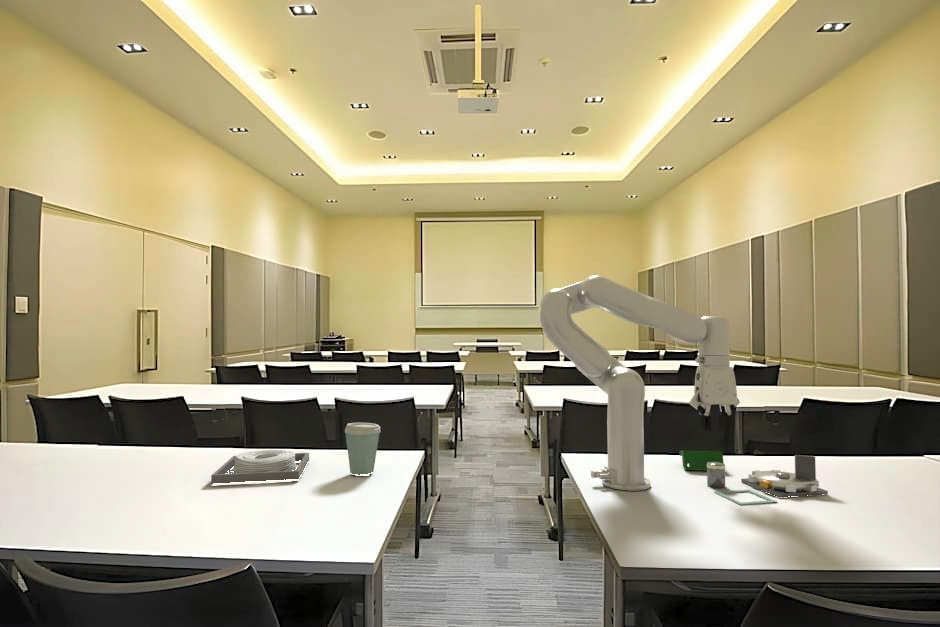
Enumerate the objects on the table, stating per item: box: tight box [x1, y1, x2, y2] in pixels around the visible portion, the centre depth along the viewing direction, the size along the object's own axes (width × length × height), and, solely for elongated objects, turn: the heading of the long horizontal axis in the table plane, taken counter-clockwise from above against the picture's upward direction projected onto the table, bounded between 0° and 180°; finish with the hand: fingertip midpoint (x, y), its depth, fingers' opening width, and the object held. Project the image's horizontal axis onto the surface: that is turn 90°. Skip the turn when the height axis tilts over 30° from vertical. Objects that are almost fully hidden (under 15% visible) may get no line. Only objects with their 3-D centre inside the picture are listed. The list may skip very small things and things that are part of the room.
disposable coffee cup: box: [344, 422, 381, 475], centre depth 158 cm, size 11×11×15 cm
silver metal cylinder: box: [706, 462, 726, 490], centre depth 144 cm, size 4×4×6 cm
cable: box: [226, 449, 297, 474], centre depth 160 cm, size 18×18×6 cm
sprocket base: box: [741, 477, 829, 498], centre depth 142 cm, size 14×14×1 cm
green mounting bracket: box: [679, 450, 725, 472], centre depth 162 cm, size 12×6×9 cm, turn 75°
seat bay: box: [714, 489, 778, 506], centre depth 134 cm, size 10×10×1 cm
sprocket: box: [747, 454, 820, 492], centre depth 142 cm, size 16×16×8 cm
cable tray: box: [210, 452, 310, 485], centre depth 159 cm, size 23×23×3 cm
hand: (715, 429), depth 144 cm, fingers open, 4 cm apart
